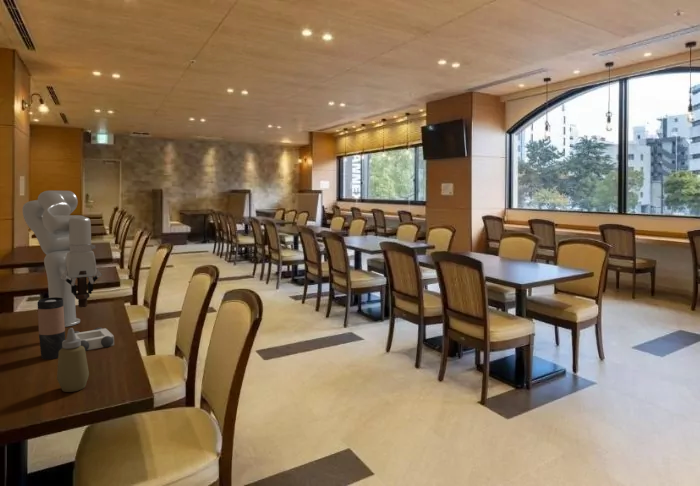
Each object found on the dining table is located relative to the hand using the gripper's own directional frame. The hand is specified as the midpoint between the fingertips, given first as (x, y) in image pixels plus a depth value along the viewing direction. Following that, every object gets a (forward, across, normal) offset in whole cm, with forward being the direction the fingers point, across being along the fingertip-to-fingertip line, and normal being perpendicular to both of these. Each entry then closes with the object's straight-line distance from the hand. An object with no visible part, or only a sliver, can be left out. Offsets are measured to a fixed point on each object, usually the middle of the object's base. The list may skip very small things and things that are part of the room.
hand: (82, 293), depth 185 cm
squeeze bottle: (+16, +13, +56) cm, 60 cm away
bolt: (+6, 0, 0) cm, 6 cm away
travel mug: (+17, +13, +21) cm, 30 cm away
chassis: (+16, 0, +15) cm, 22 cm away
